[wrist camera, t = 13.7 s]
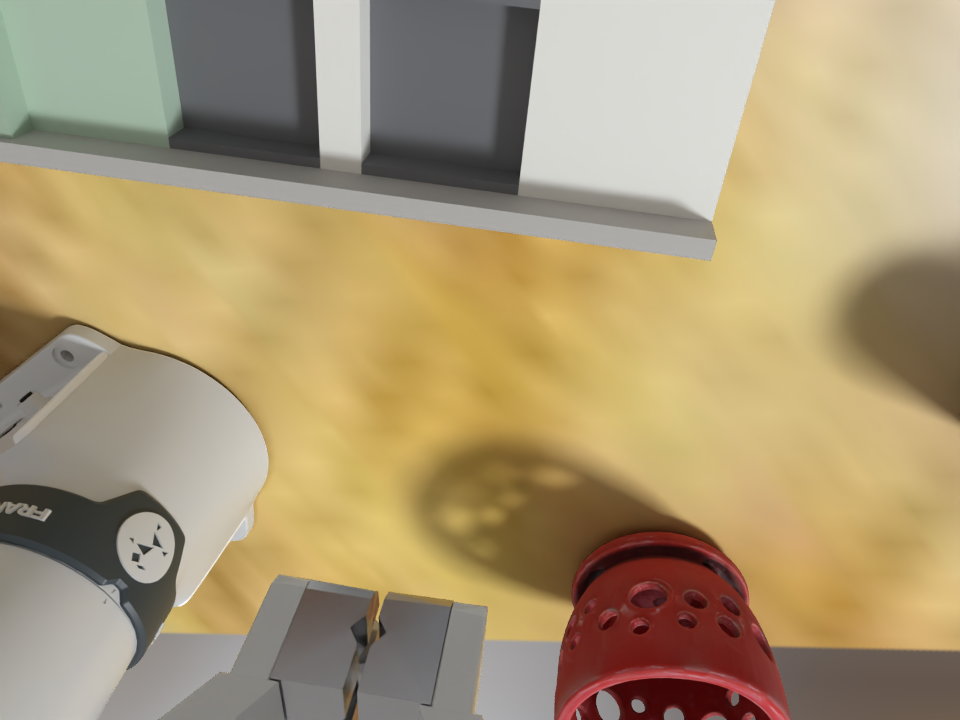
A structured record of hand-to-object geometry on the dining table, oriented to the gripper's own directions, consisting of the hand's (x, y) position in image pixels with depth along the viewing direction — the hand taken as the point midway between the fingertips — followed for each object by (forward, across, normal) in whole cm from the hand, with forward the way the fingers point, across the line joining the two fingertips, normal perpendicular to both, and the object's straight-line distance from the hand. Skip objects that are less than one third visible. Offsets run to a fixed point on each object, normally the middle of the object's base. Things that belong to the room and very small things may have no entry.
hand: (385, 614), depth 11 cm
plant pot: (+28, -12, +31) cm, 43 cm away
